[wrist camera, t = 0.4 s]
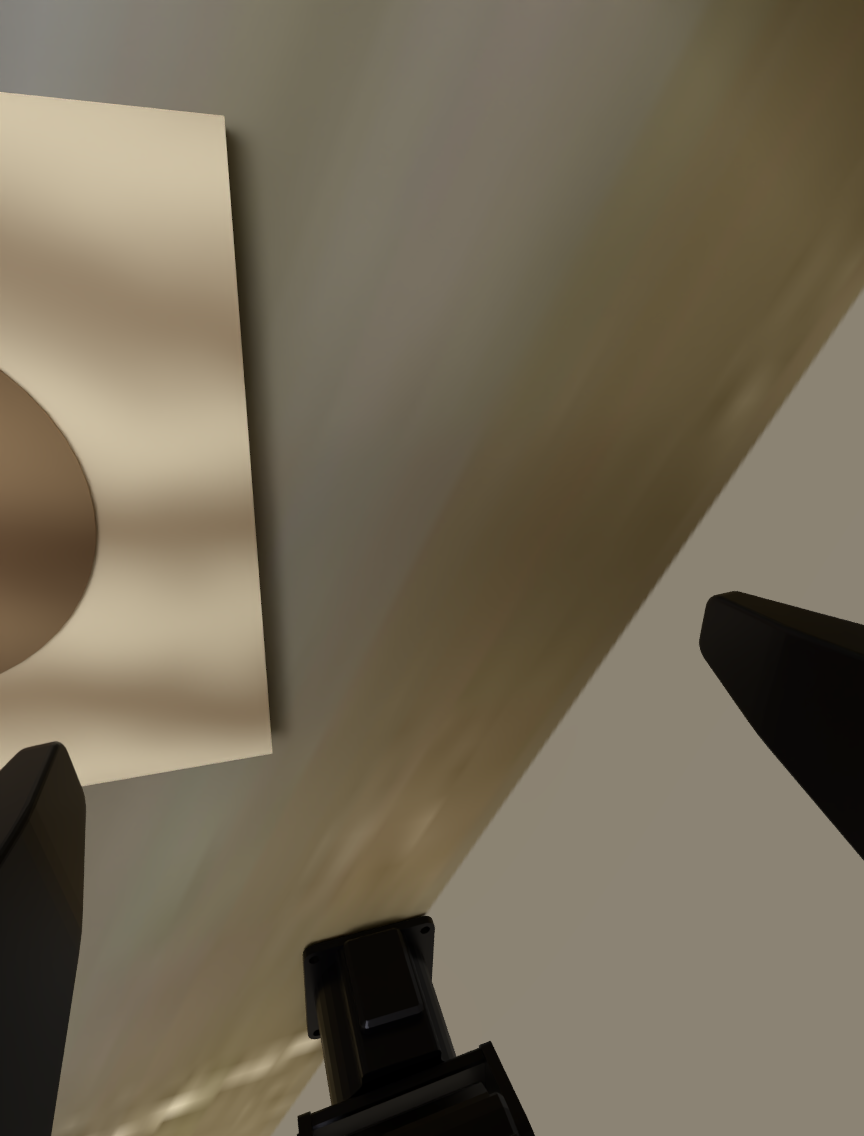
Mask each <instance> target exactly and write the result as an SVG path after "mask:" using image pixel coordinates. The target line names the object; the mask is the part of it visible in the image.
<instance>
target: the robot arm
mask: <svg viewBox="0 0 864 1136" xmlns="http://www.w3.org/2000/svg"><path fill="white" fill-rule="evenodd" d="M699 645H700V650H701V653H702V655H703V657H704V659H705V660H706V661H707V663H708V664H709V666H710V667H711V669H712V670H713V672H714V673H715V674H716V676H717V677H718V679H719V680H720V682H721V683H722V684H723V686H724V687H725V689H726V690H727V692H728V693H729V695H730V696H731V697H732V699H733V700H734V702H735V703H736V705H737V706H738V707H739V709H740V710H741V712H742V713H743V715H744V716H745V717H746V719H747V720H748V722H749V723H750V725H751V726H752V727H753V729H754V730H755V731H756V733H757V734H758V735H759V737H760V738H761V739H762V740H763V742H764V743H765V744H766V745H767V747H768V748H769V749H770V750H771V751H772V753H773V754H774V755H775V756H776V757H777V759H778V760H779V761H780V762H781V763H782V764H783V766H784V767H785V768H786V769H787V770H788V771H789V773H790V774H791V775H792V776H793V777H794V779H795V780H796V781H797V782H798V783H799V784H800V786H801V787H802V788H803V789H804V790H805V791H806V793H807V794H808V795H809V796H810V797H811V799H812V800H813V801H814V802H815V803H816V805H817V806H818V807H819V808H820V809H821V810H822V812H823V813H824V814H825V815H826V816H827V818H828V819H829V820H830V821H831V822H832V823H833V825H834V826H835V827H836V828H837V829H838V830H839V832H840V833H841V834H842V835H843V836H844V838H845V839H846V840H847V841H848V842H849V844H850V845H851V846H852V847H853V848H854V849H855V851H856V852H857V853H858V854H859V855H860V857H861V858H862V859H863V860H864V625H862V624H858V623H854V622H851V621H847V620H843V619H839V618H836V617H832V616H828V615H825V614H820V613H817V612H813V611H809V610H806V609H802V608H798V607H794V606H791V605H787V604H784V603H780V602H776V601H772V600H769V599H765V598H761V597H757V596H754V595H750V594H746V593H742V592H738V591H732V592H727V593H723V594H718V595H714V596H713V597H711V598H710V599H709V600H708V602H707V604H706V608H705V614H704V618H703V623H702V629H701V634H700V639H699ZM85 824H86V803H85V796H84V792H83V789H82V786H81V784H80V781H79V779H78V776H77V774H76V771H75V769H74V766H73V764H72V761H71V759H70V756H69V754H68V751H67V749H66V747H65V746H64V745H63V744H62V743H61V742H58V741H53V742H49V743H44V744H40V745H35V746H30V747H27V748H24V749H22V750H20V751H19V752H18V753H17V754H16V755H15V756H14V757H13V758H12V759H11V760H10V761H9V762H8V763H7V764H6V765H5V766H4V767H3V768H2V769H1V770H0V1136H51V1132H52V1126H53V1119H54V1113H55V1106H56V1100H57V1093H58V1087H59V1081H60V1074H61V1068H62V1061H63V1055H64V1048H65V1042H66V1035H67V1029H68V1022H69V1016H70V1009H71V1003H72V996H73V990H74V983H75V977H76V970H77V964H78V957H79V950H80V942H81V934H82V917H83V889H84V856H85ZM434 932H435V927H434V924H433V920H432V918H431V917H429V916H422V917H419V918H415V919H411V920H407V921H403V922H400V923H396V924H392V925H388V926H384V927H380V928H377V929H373V930H369V931H365V932H361V933H357V934H354V935H350V936H346V937H342V938H338V939H334V940H331V941H327V942H323V943H319V944H315V945H312V946H309V947H308V948H306V949H305V950H304V952H303V969H304V986H305V1002H306V1018H307V1030H308V1036H309V1038H311V1039H319V1038H321V1043H322V1049H323V1055H324V1062H325V1068H326V1074H327V1080H328V1087H329V1092H330V1099H331V1105H332V1106H329V1107H327V1108H324V1109H322V1110H319V1111H317V1112H314V1113H311V1112H307V1113H304V1114H302V1115H299V1116H298V1127H299V1134H297V1136H535V1135H534V1132H533V1130H532V1127H531V1125H530V1123H529V1121H528V1118H527V1116H526V1114H525V1112H524V1110H523V1108H522V1106H521V1104H520V1102H519V1099H518V1097H517V1095H516V1093H515V1091H514V1089H513V1087H512V1085H511V1083H510V1081H509V1078H508V1076H507V1074H506V1072H505V1070H504V1068H503V1066H502V1064H501V1062H500V1059H499V1057H498V1055H497V1053H496V1051H495V1049H494V1047H493V1045H492V1043H491V1041H489V1042H486V1043H484V1044H481V1045H479V1048H477V1049H475V1050H473V1051H470V1052H467V1053H465V1054H462V1055H460V1056H457V1057H456V1054H455V1051H454V1048H453V1045H452V1042H451V1039H450V1036H449V1033H448V1030H447V1026H446V1024H445V1020H444V1017H443V1014H442V1011H441V1008H440V1005H439V1002H438V999H437V996H436V993H435V990H434V987H433V984H432V967H433V947H434Z"/></svg>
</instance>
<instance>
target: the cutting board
mask: <svg viewBox="0 0 864 1136" xmlns="http://www.w3.org/2000/svg"><path fill="white" fill-rule="evenodd" d="M53 741H58V742H61V743H62V744H63V745H64V746H65V747H66V749H67V751H68V754H69V756H70V759H71V761H72V764H73V766H74V769H75V771H76V774H77V776H78V779H79V781H80V784H81V786H86V785H92V784H98V783H104V782H109V781H115V780H121V779H127V778H133V777H138V776H144V775H150V774H156V773H162V772H168V771H173V770H179V769H185V768H191V767H197V766H202V765H208V764H214V763H220V762H226V761H231V760H237V759H243V758H249V757H255V756H260V755H266V754H272V741H271V728H270V715H269V702H268V688H267V675H266V662H265V649H264V636H263V622H262V609H261V596H260V583H259V569H258V556H257V543H256V530H255V517H254V503H253V490H252V477H251V464H250V451H249V437H248V424H247V411H246V398H245V384H244V371H243V358H242V345H241V332H240V318H239V305H238V292H237V279H236V266H235V252H234V239H233V226H232V213H231V200H230V186H229V173H228V160H227V147H226V133H225V120H224V116H220V115H211V114H201V113H192V112H183V111H173V110H164V109H154V108H145V107H136V106H126V105H117V104H107V103H98V102H89V101H79V100H70V99H60V98H51V97H42V96H32V95H23V94H13V93H4V92H0V770H1V769H2V768H3V767H4V766H5V765H6V764H7V763H8V762H9V761H10V760H11V759H12V758H13V757H14V756H15V755H16V754H17V753H18V752H19V751H20V750H22V749H24V748H27V747H30V746H35V745H40V744H44V743H49V742H53Z"/></svg>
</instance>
